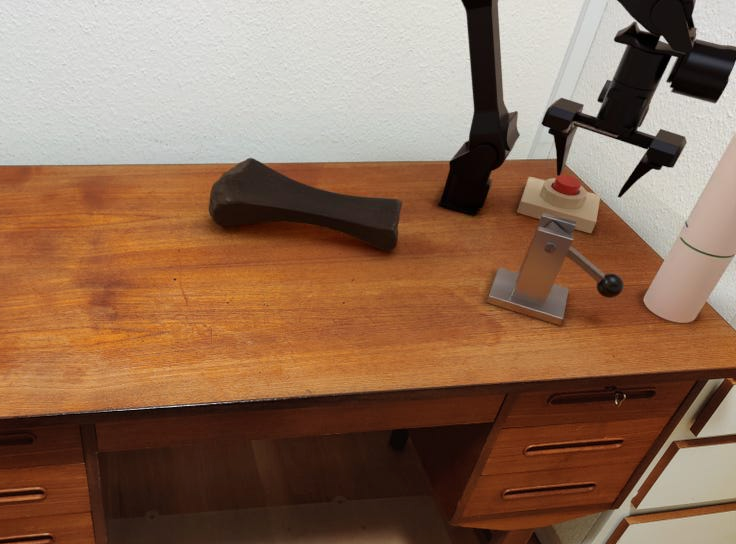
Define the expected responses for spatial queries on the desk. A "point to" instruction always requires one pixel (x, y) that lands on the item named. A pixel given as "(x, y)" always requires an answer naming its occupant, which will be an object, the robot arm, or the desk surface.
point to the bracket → (537, 275)
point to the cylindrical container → (699, 248)
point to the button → (566, 185)
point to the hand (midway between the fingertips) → (588, 185)
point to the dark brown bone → (300, 205)
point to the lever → (594, 270)
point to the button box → (559, 203)
